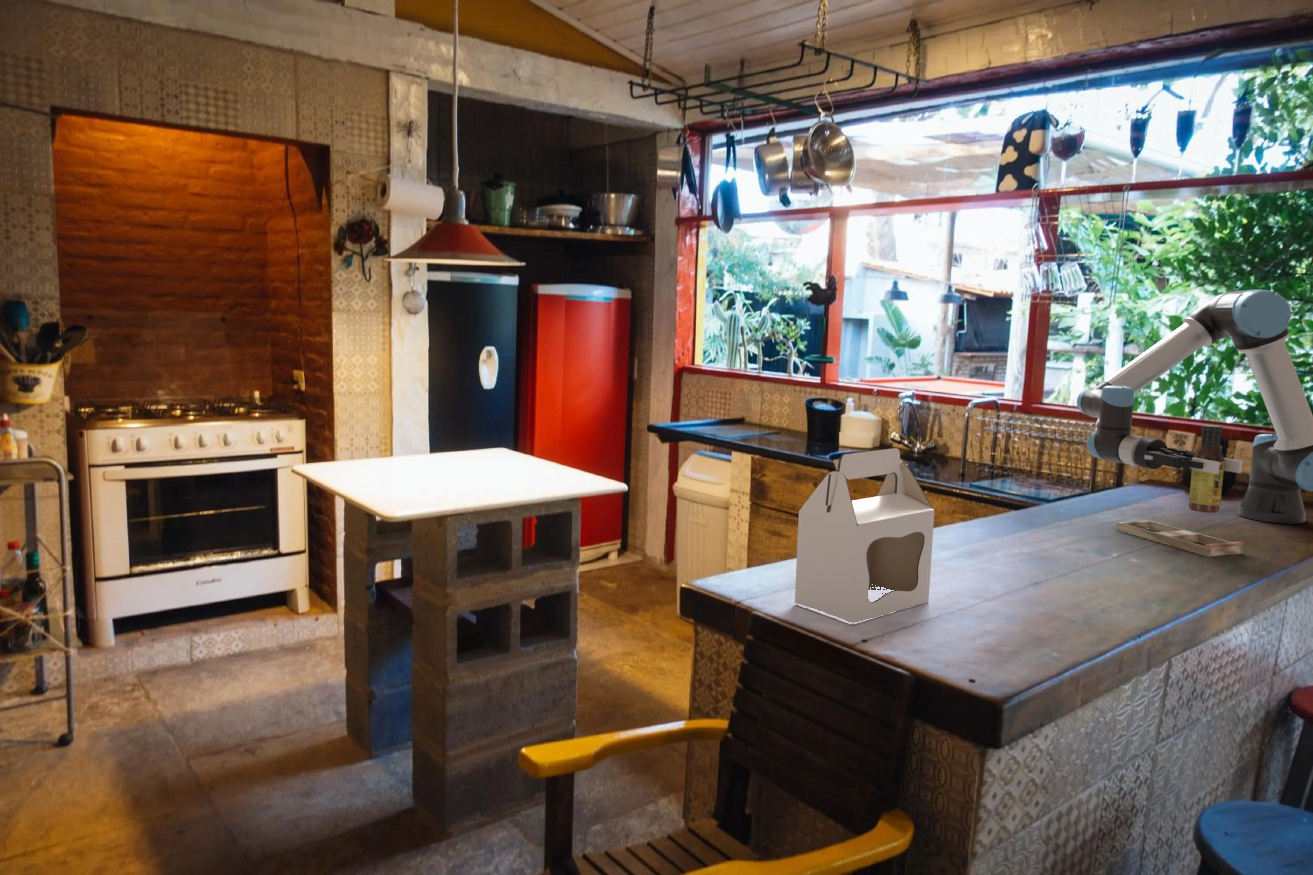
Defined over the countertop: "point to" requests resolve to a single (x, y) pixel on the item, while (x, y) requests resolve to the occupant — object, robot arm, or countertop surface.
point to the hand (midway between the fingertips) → (1229, 467)
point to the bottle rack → (1181, 538)
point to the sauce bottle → (1203, 483)
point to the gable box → (865, 540)
